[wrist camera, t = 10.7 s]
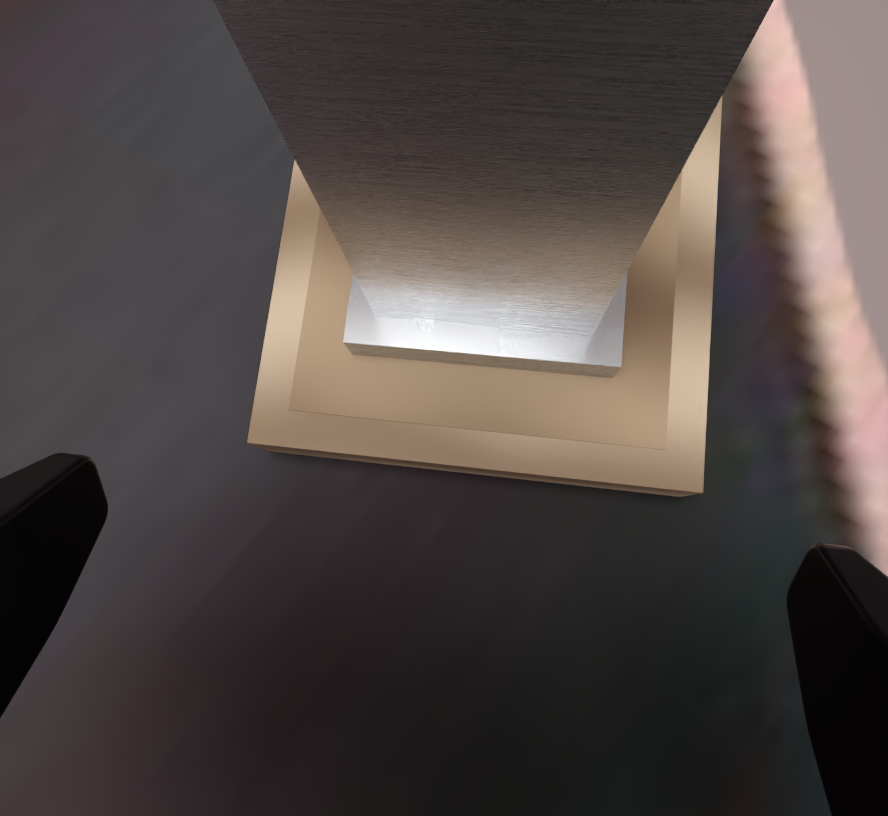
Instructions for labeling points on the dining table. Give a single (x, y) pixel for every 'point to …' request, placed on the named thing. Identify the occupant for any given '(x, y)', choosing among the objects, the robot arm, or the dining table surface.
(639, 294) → the stand
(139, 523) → the dining table surface
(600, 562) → the dining table surface
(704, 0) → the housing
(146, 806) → the dining table surface
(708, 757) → the dining table surface
